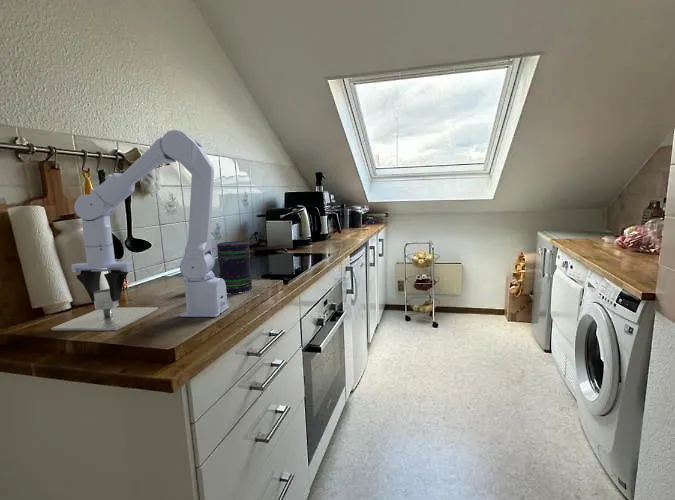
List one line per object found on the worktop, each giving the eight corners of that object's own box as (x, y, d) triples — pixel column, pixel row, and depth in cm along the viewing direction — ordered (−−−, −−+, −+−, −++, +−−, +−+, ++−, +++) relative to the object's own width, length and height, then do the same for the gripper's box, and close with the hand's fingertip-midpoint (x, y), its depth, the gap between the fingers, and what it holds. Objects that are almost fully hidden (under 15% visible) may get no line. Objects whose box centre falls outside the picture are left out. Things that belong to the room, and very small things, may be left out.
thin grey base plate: (157, 309, 99) (155, 289, 98) (115, 330, 83) (112, 306, 82) (102, 309, 101) (100, 289, 100) (51, 330, 85) (47, 307, 84)
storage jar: (228, 286, 122) (225, 241, 120) (257, 286, 121) (254, 240, 119) (214, 294, 113) (210, 245, 111) (245, 294, 111) (241, 244, 109)
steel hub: (122, 303, 93) (120, 288, 93) (109, 309, 89) (107, 293, 88) (105, 303, 94) (103, 288, 93) (90, 309, 89) (88, 293, 89)
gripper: (137, 242, 92) (143, 295, 94) (84, 244, 94) (91, 296, 96) (118, 246, 85) (125, 303, 87) (61, 247, 87) (69, 304, 89)
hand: (106, 300), depth 91 cm, fingers closed on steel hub, 5 cm apart
